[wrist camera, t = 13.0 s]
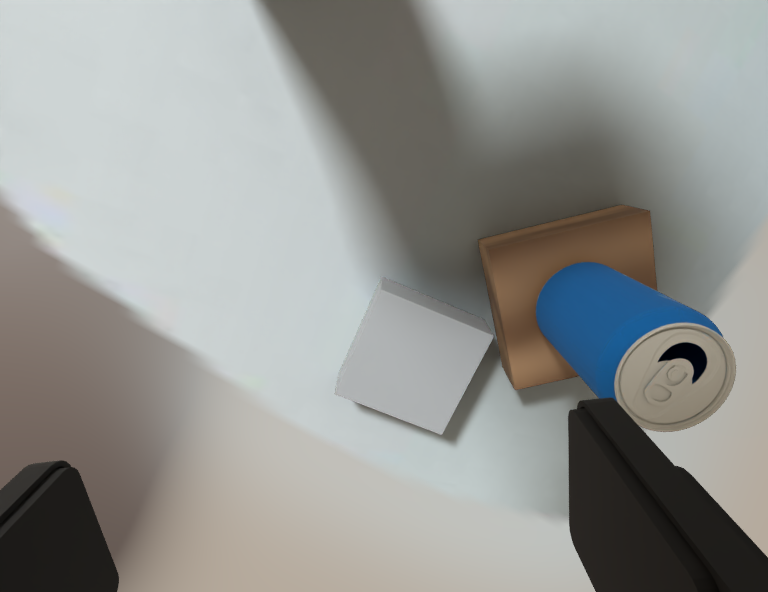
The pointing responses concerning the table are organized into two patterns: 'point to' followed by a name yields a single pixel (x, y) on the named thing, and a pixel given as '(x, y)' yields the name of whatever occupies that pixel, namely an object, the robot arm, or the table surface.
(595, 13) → the table surface
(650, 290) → the beverage can
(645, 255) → the walnut block
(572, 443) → the robot arm
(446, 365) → the grey square block
